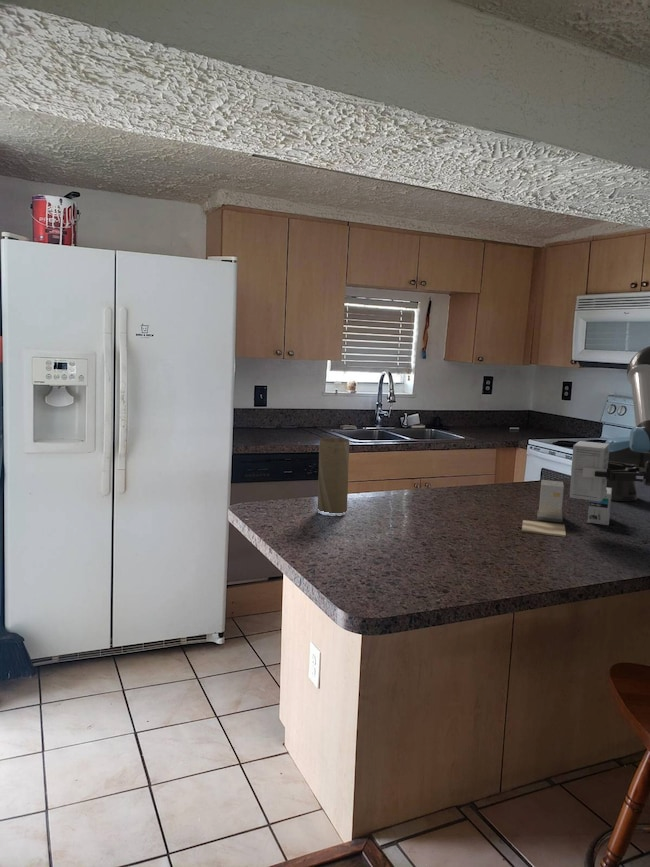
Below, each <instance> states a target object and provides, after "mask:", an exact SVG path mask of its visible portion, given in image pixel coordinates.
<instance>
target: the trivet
mask: <svg viewBox="0 0 650 867" xmlns="http://www.w3.org/2000/svg"><path fill="white" fill-rule="evenodd" d="M521 533H527V534H535V535H536V534H537V535H545V536H554V537H555V536H556V537H564V538H566V537H567V534H566V525H565V524H564V523H562V524H561V523H556V522H554V523H553V522H547V521H545V522H544V521H538V520H537V521H534V520H524V519H522V526H521Z"/></svg>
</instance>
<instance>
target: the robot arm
mask: <svg viewBox="0 0 650 867" xmlns="http://www.w3.org/2000/svg"><path fill="white" fill-rule="evenodd" d="M626 376H627V377H626V379H627V381H628V383H629V384H631V386H630V387H631V395H632V402H633V412H634V420H635V421H634V422H635V427H633V428H631V429H630V432H629V436H617V437H611V438H608V439H606V441H605V442H604V443H606V444H610V447H609V459H608V468H607V472H606V469H596V468H584V467H583V475H582V476H583V477H593V478H605V479H607V485H606V487H607V488H612V496H611V501H615V502H635V501H637V500H638V499H639V498H638V497H639V493H638V488H637V484H636V482H640V483H642V482H643V484H644V485H645V486H647V487H650V346H649V345H648V346H646V347H643V348H642V349H641V350H639V351H638V352H637V353H635V354H634V356H632V358H631V359H630V361H629V363H628V365H627V367H626Z"/></svg>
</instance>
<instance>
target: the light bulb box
mask: <svg viewBox="0 0 650 867" xmlns="http://www.w3.org/2000/svg"><path fill="white" fill-rule="evenodd" d="M611 496H612V488H607V487H606V496H605V497H604V498H603V499H602V500H601V501H600V502H599V501H592V500H588V502H589V503H588V512H587V513H588V514H587V523H589V524H590V523H591V524H598V525H603V526H609V524H610V520H611V519H610V517H611V507H612V500H611Z"/></svg>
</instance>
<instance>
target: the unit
mask: <svg viewBox="0 0 650 867" xmlns="http://www.w3.org/2000/svg"><path fill="white" fill-rule="evenodd" d="M540 481H541V483H540V494H539V503H538V504H539V508H538V510H537V512H536V516H537V517H536V520H537V521H543V522H544V521H545V522H552V523H553V522H554V523H563V512H562V511H563V510H562V509H563V501H564V500H563V499H564V490H565V485H564V481H558V480H550V479H549V480H548V479H541V480H540Z"/></svg>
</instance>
